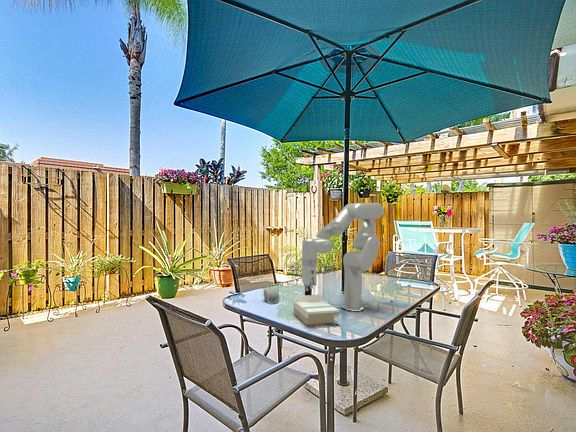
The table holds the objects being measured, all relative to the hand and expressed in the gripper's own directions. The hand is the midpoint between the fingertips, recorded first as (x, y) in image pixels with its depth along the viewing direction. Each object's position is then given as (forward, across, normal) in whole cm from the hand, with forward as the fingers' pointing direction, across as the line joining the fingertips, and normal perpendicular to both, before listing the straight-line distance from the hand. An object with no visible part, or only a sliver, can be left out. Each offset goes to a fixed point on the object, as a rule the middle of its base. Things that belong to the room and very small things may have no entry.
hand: (308, 298), depth 157 cm
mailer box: (+8, -7, 0) cm, 11 cm away
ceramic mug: (+8, +26, +12) cm, 30 cm away
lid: (+4, -10, 0) cm, 11 cm away
